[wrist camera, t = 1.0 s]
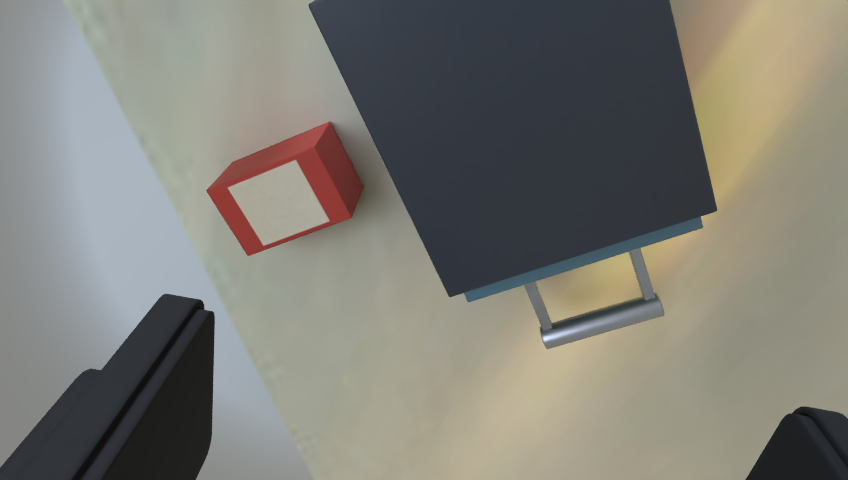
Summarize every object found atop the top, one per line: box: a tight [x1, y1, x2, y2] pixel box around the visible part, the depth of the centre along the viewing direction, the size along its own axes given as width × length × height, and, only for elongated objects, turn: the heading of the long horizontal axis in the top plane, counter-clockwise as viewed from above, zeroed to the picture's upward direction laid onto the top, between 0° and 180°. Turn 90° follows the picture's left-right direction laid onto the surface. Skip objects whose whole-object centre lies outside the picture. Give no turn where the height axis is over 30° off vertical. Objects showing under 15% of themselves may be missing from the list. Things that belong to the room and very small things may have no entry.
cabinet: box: [309, 0, 717, 297], centre depth 30 cm, size 16×14×9 cm
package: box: [206, 122, 363, 256], centre depth 36 cm, size 5×7×4 cm, turn 113°
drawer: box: [464, 217, 703, 349], centre depth 33 cm, size 21×12×7 cm, turn 23°
